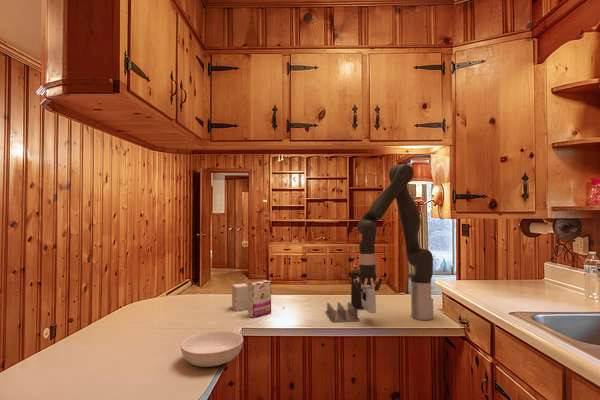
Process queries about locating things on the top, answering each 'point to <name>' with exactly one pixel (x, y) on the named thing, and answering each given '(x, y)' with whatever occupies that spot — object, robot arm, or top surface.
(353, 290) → the container
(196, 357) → the serving bowl
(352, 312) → the dish rack
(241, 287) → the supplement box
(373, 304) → the dish slab
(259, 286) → the candy bar box
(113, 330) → the top surface
